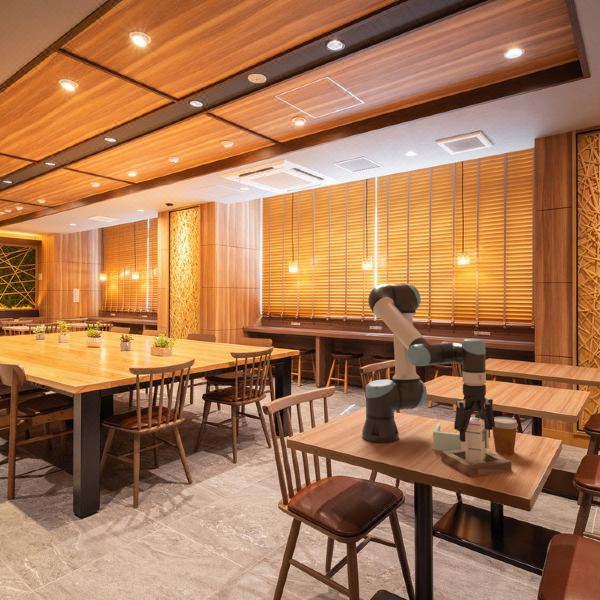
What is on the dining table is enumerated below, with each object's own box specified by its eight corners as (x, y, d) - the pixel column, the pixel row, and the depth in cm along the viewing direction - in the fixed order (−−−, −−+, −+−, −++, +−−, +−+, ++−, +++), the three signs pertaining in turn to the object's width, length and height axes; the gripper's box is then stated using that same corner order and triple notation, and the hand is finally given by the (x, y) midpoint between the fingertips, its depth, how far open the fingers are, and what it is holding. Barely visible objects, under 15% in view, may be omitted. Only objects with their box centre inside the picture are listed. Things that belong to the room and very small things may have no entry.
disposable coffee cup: (519, 449, 167) (519, 418, 167) (517, 458, 158) (517, 424, 158) (492, 445, 171) (491, 415, 171) (489, 453, 163) (488, 421, 163)
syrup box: (483, 465, 148) (482, 422, 148) (464, 462, 152) (464, 420, 151) (485, 460, 153) (485, 418, 153) (468, 456, 156) (467, 416, 156)
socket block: (441, 460, 158) (441, 451, 158) (478, 454, 163) (478, 446, 163) (472, 477, 142) (471, 468, 142) (511, 470, 147) (511, 461, 147)
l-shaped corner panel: (466, 455, 163) (466, 435, 163) (433, 451, 169) (433, 431, 168) (469, 445, 174) (468, 426, 174) (437, 441, 179) (437, 423, 179)
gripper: (456, 388, 146) (457, 456, 146) (506, 383, 152) (507, 448, 152) (442, 383, 153) (443, 449, 153) (490, 379, 159) (491, 442, 159)
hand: (475, 448), depth 153 cm, fingers closed on syrup box, 8 cm apart
